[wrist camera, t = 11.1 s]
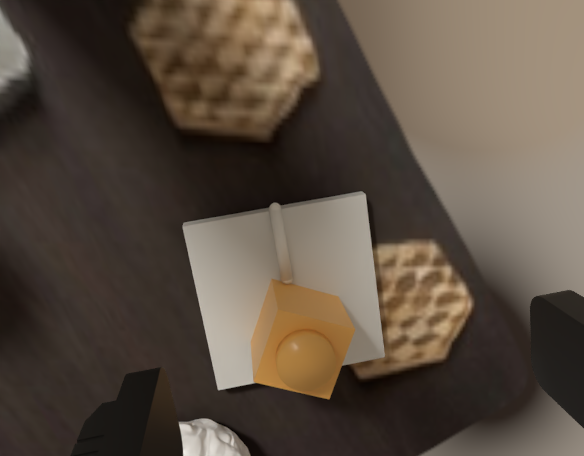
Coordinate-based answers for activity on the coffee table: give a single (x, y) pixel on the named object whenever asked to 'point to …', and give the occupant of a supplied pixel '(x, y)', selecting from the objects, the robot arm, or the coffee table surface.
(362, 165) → the coffee table surface
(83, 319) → the coffee table surface
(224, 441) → the bust
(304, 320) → the domed orange cube
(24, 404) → the coffee table surface
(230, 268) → the plate
